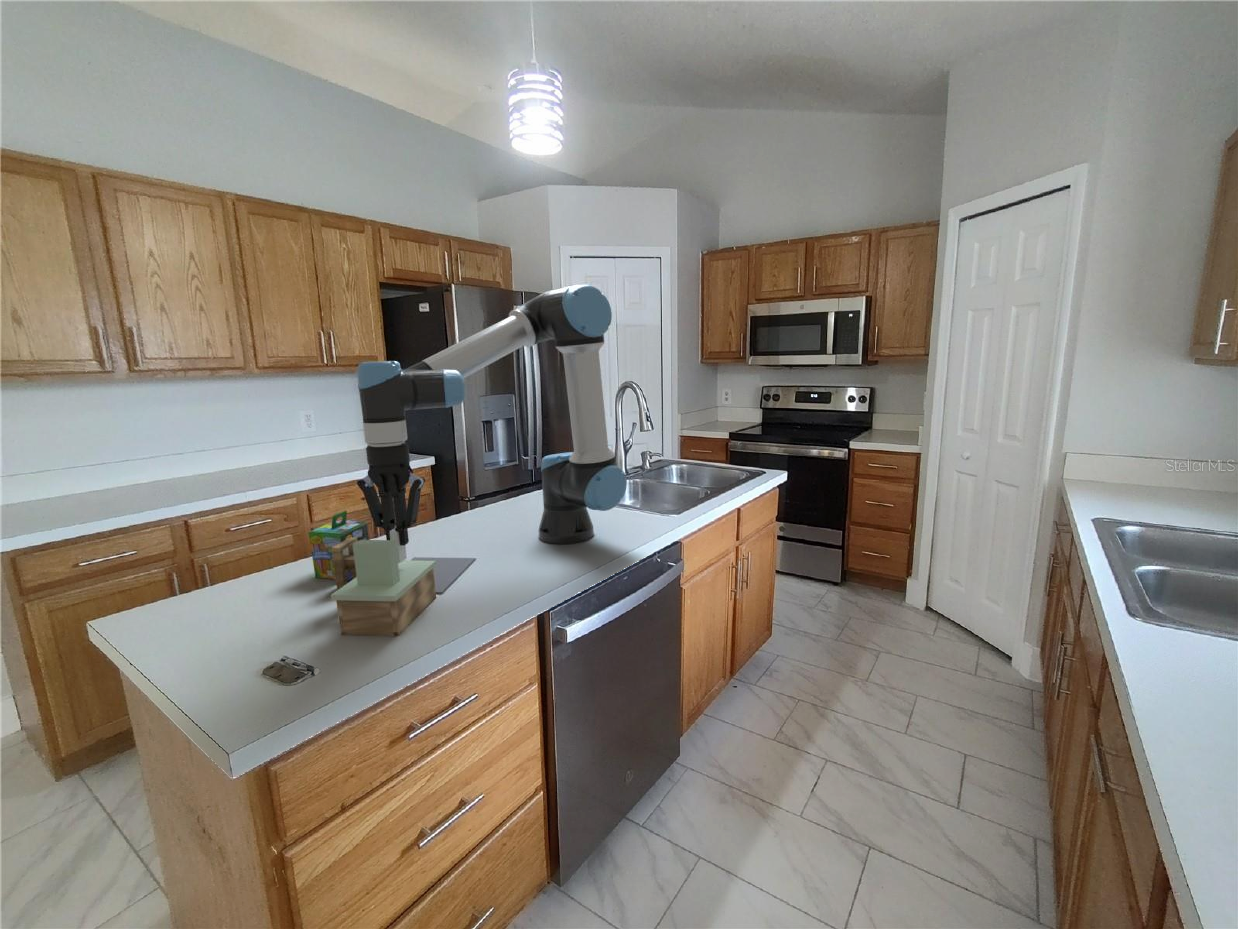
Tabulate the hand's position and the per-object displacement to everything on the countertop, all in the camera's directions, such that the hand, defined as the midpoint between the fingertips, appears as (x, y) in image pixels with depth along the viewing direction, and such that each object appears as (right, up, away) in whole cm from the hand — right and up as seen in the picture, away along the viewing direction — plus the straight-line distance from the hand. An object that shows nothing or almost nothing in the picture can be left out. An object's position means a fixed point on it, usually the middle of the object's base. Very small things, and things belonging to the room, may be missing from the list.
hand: (399, 560), depth 110 cm
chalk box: (-22, -7, +21) cm, 31 cm away
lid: (-1, -4, -3) cm, 5 cm away
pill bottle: (-15, -8, +13) cm, 22 cm away
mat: (-1, -7, +18) cm, 19 cm away
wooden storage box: (-4, -10, -1) cm, 11 cm away
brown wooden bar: (-8, -1, +1) cm, 8 cm away
